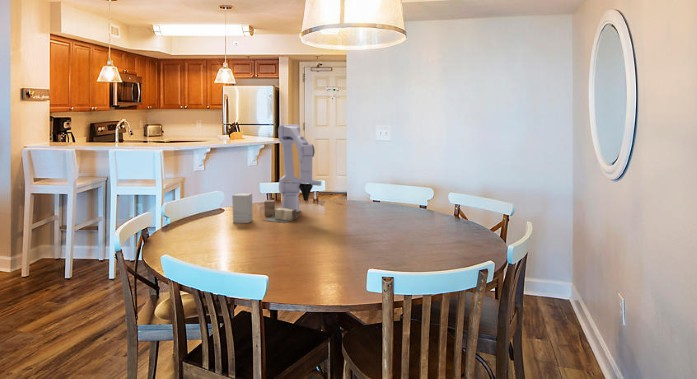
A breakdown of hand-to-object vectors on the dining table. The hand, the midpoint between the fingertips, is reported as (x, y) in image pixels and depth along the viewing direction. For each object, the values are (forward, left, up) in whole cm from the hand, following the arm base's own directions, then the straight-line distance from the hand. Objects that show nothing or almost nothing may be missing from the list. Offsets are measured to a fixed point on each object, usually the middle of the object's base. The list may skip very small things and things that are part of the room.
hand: (305, 200), depth 229 cm
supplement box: (+12, -26, -10) cm, 30 cm away
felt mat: (0, -12, -10) cm, 16 cm away
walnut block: (-7, -22, -10) cm, 25 cm away
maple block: (0, -6, -7) cm, 9 cm away
